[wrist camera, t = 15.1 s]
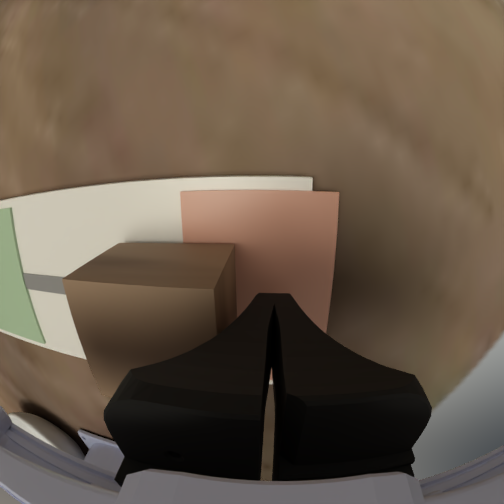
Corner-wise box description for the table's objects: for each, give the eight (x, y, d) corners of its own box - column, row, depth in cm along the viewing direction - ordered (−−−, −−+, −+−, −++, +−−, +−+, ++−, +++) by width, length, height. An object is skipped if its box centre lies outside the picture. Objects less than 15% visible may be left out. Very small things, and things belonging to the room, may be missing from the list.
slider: (238, 350, 12) (225, 417, 9) (138, 340, 13) (101, 394, 9) (234, 244, 11) (213, 289, 7) (119, 242, 11) (62, 278, 7)
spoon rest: (7, 390, 20) (-23, 425, 14) (61, 406, 19) (26, 457, 12) (101, 492, 27) (88, 522, 20) (163, 508, 26) (151, 545, 19)
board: (314, 371, 14) (316, 386, 13) (-1, 322, 16) (-9, 329, 15) (333, 177, 11) (339, 179, 10) (-29, 206, 13) (-40, 210, 12)
